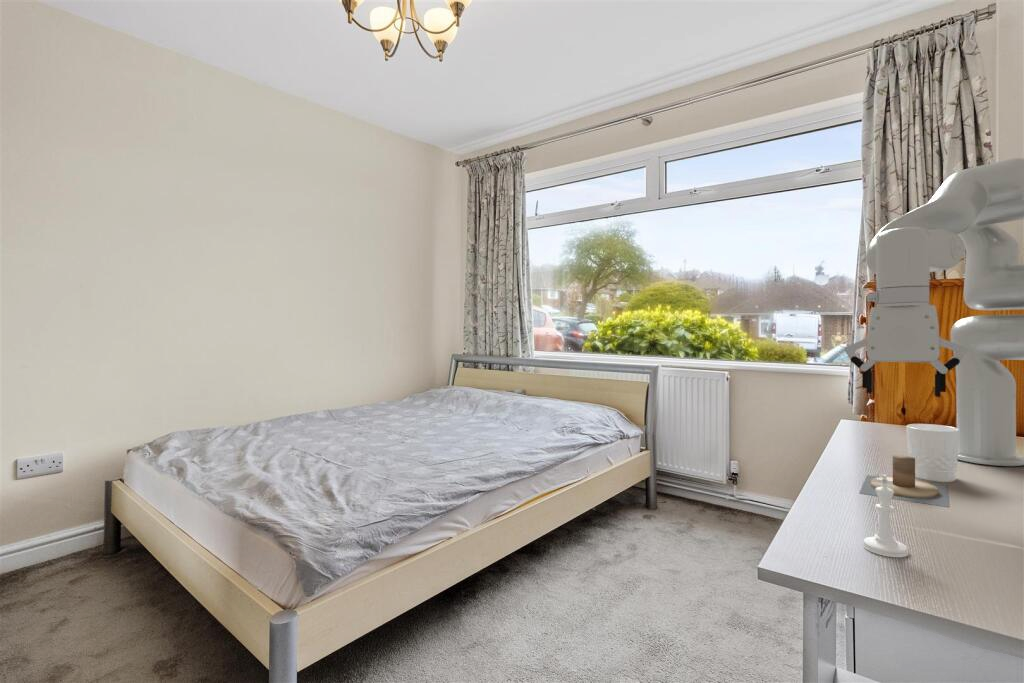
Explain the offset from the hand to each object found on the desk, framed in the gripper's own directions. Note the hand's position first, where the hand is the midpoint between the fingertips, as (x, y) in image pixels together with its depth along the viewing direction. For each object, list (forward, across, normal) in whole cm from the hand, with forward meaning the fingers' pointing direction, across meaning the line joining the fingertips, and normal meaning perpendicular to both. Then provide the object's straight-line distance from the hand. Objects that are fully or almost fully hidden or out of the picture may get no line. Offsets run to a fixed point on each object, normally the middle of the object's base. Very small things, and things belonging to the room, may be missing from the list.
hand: (902, 394), depth 90 cm
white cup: (+18, +4, +13) cm, 22 cm away
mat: (+18, 0, 0) cm, 18 cm away
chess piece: (+18, -1, -31) cm, 36 cm away
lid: (+17, 0, 0) cm, 17 cm away
